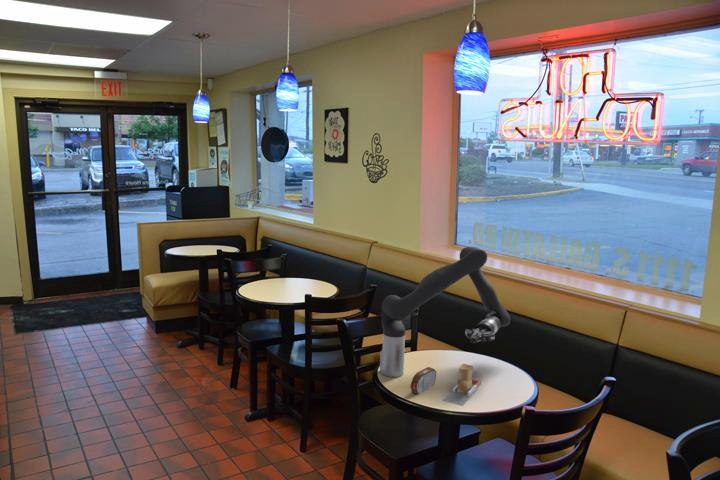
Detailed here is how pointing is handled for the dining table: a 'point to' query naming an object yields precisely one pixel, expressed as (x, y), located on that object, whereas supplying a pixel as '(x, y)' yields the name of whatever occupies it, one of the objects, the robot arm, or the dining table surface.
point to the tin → (423, 380)
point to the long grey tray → (460, 397)
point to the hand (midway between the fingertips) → (472, 340)
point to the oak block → (464, 378)
